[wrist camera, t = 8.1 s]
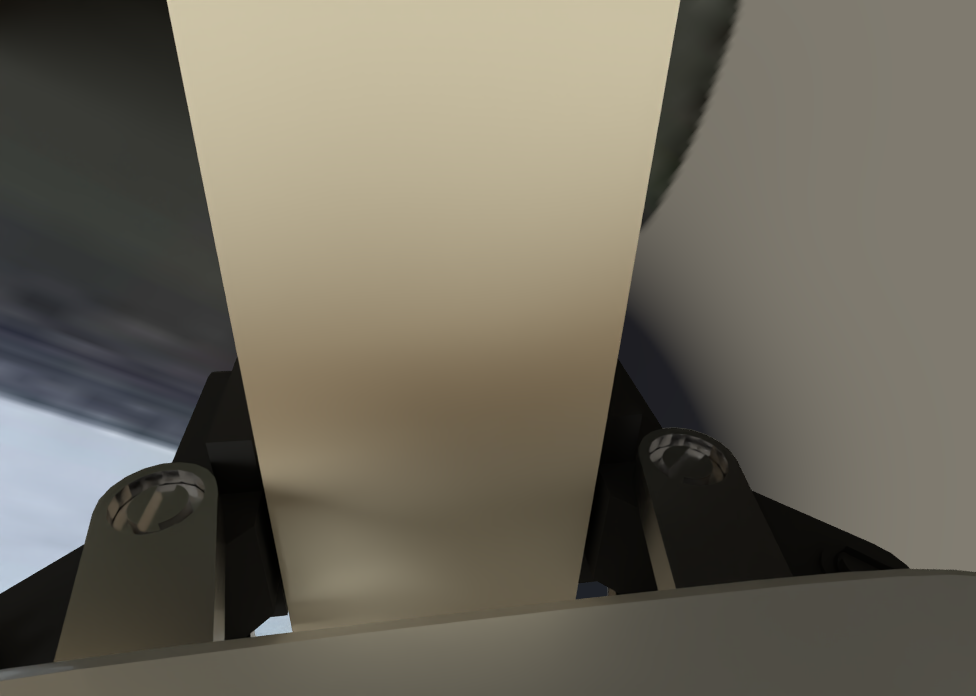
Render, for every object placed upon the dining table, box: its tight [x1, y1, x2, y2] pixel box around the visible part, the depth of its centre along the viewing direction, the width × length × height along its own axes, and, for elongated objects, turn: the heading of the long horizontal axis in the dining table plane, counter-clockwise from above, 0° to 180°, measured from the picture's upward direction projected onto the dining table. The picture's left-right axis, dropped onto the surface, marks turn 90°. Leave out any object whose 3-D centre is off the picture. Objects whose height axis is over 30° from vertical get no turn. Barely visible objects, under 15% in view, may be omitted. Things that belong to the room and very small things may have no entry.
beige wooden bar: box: [167, 0, 680, 632], centre depth 12 cm, size 22×4×6 cm, turn 178°
